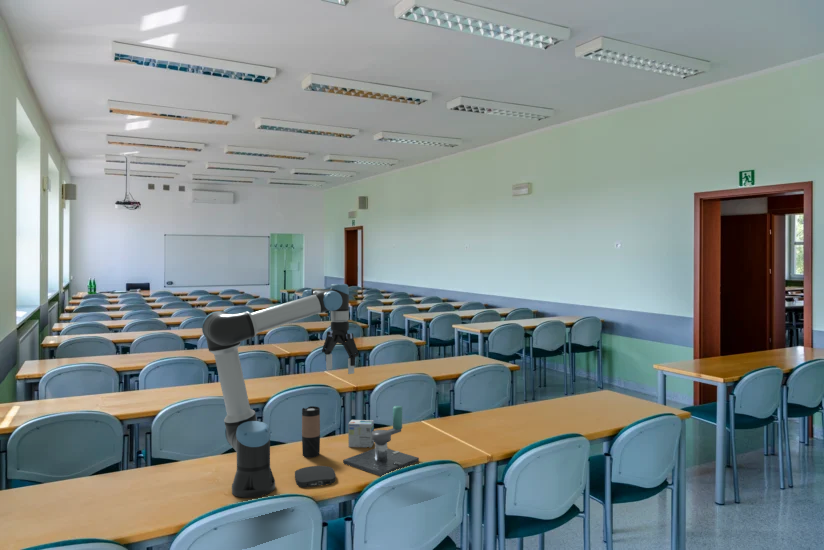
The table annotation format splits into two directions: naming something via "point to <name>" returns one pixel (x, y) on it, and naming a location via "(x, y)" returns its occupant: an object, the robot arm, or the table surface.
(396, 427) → the crank handle
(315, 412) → the travel mug
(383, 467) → the post base
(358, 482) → the table surface
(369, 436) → the light bulb box
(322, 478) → the media streaming box
